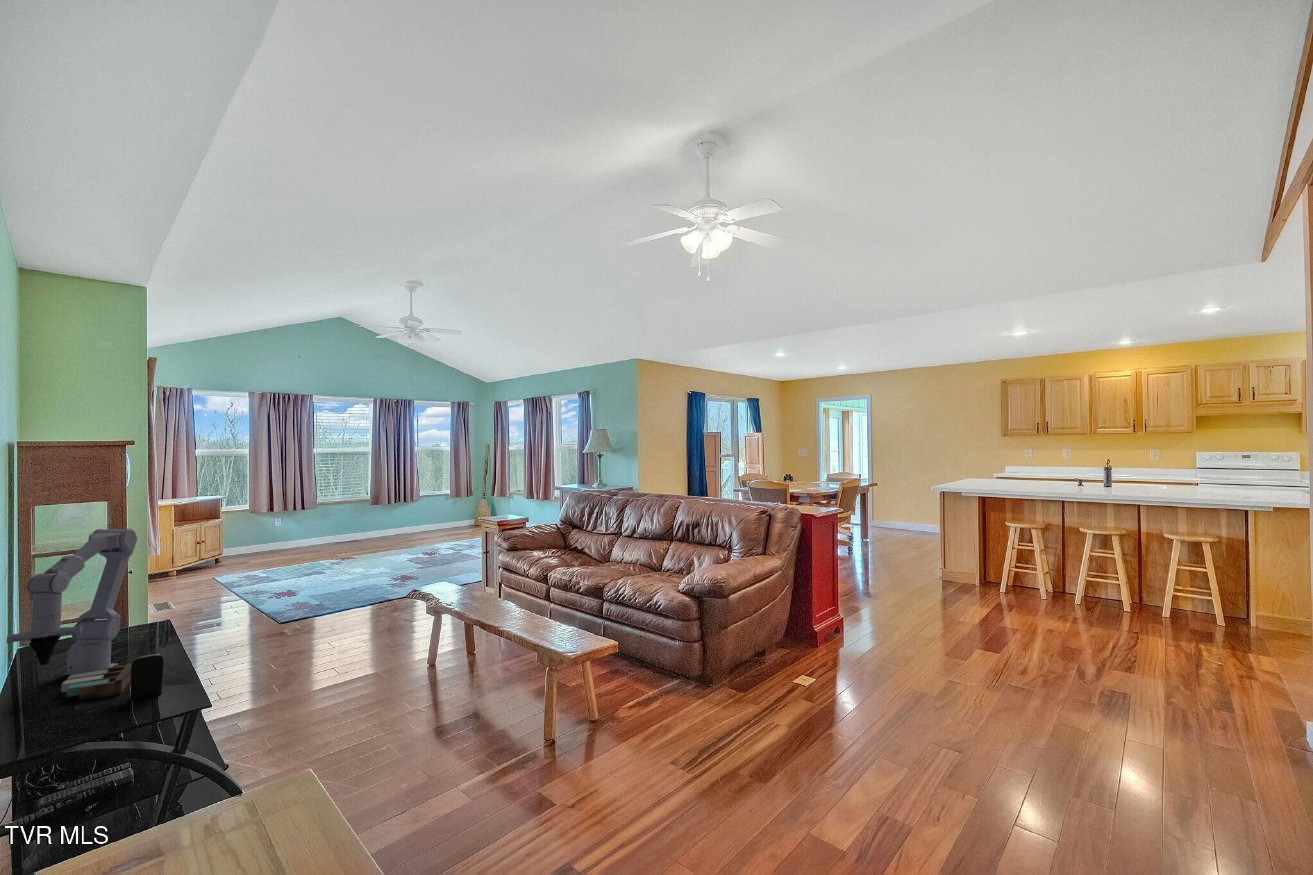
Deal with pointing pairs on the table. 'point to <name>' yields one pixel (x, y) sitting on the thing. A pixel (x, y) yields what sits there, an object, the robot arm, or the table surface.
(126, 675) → the walnut key block
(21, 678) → the table surface
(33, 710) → the table surface
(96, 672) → the light grey rectangular block
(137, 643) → the table surface
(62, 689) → the off-white rectangular box
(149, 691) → the battery charger
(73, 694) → the teal flat slab
